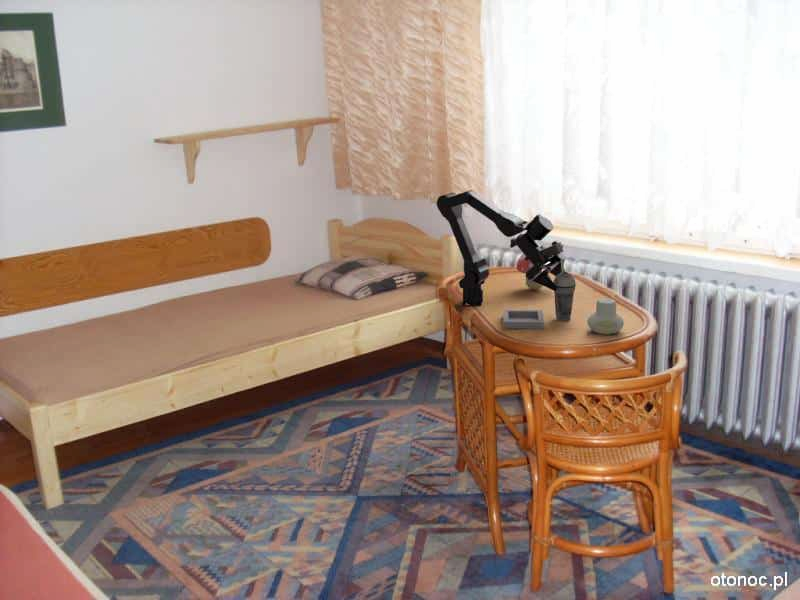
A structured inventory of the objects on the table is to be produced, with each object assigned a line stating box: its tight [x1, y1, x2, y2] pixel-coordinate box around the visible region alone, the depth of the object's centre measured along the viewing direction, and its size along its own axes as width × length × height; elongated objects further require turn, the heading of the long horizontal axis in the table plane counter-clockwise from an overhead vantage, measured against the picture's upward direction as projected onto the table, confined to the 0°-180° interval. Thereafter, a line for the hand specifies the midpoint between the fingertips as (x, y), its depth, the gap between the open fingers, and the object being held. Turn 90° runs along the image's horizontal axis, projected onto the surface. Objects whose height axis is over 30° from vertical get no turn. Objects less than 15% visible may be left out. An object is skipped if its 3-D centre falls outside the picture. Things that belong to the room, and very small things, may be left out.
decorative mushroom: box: [516, 253, 551, 291], centre depth 315 cm, size 13×13×15 cm
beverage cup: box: [553, 259, 577, 322], centre depth 282 cm, size 7×7×20 cm
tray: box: [502, 309, 545, 331], centre depth 282 cm, size 13×13×2 cm
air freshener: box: [586, 297, 625, 335], centre depth 271 cm, size 11×8×10 cm
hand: (562, 286), depth 283 cm, fingers open, 9 cm apart
